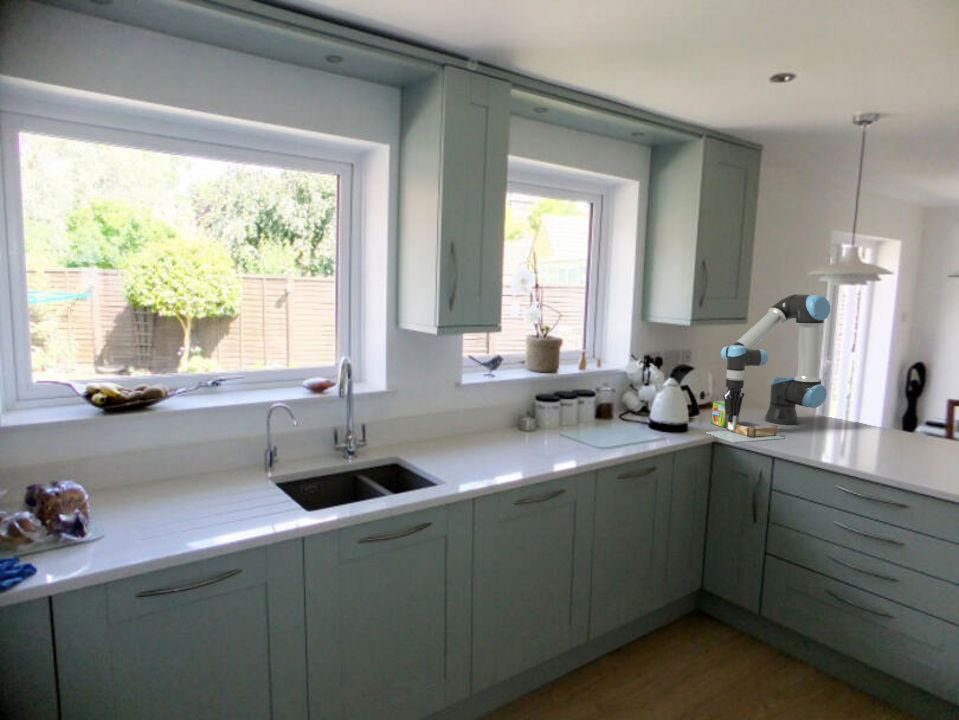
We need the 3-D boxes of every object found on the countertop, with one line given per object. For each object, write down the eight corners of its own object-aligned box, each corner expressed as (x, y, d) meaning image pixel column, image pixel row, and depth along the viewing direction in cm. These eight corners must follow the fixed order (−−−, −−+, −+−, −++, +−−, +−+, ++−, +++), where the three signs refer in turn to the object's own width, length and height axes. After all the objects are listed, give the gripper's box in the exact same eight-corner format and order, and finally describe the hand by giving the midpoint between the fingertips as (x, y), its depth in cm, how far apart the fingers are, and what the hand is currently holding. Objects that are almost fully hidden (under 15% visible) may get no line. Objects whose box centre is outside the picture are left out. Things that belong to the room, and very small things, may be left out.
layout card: (705, 432, 272) (705, 431, 272) (754, 429, 281) (754, 428, 280) (733, 442, 255) (733, 441, 255) (784, 438, 263) (784, 437, 263)
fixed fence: (747, 436, 264) (747, 426, 264) (773, 434, 269) (774, 424, 268) (751, 437, 262) (751, 427, 262) (777, 435, 267) (778, 426, 266)
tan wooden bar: (749, 435, 266) (750, 426, 265) (746, 435, 265) (747, 426, 264) (728, 429, 277) (729, 420, 276) (725, 429, 276) (726, 420, 275)
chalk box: (710, 423, 291) (712, 394, 289) (725, 422, 294) (727, 393, 292) (723, 428, 282) (726, 397, 281) (739, 427, 285) (741, 397, 284)
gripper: (736, 377, 276) (732, 426, 278) (719, 378, 269) (715, 429, 271) (750, 379, 269) (747, 429, 272) (733, 381, 262) (730, 432, 265)
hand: (731, 429), depth 272 cm, fingers closed
